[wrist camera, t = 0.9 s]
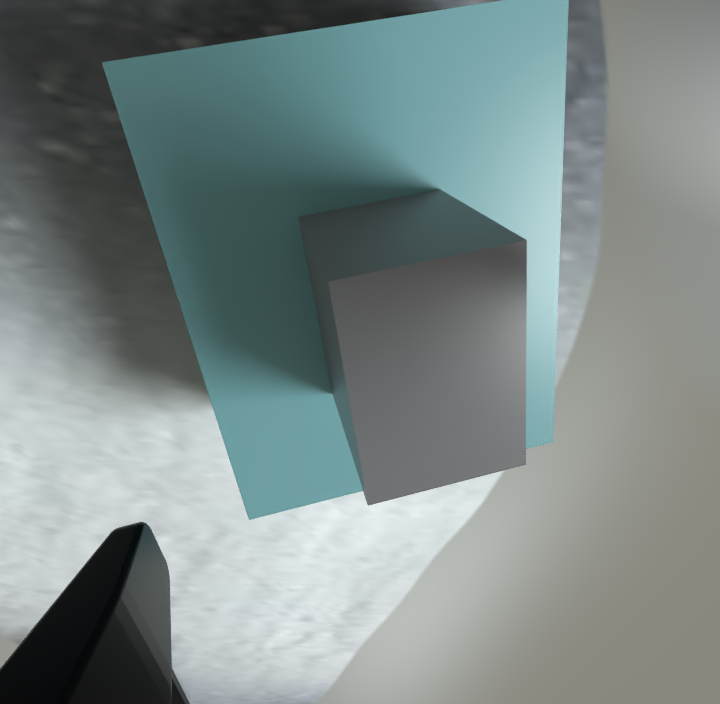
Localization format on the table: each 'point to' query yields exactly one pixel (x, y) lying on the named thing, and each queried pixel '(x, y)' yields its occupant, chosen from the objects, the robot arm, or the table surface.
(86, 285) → the table surface
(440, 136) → the lid
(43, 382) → the table surface
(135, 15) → the table surface
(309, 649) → the table surface
